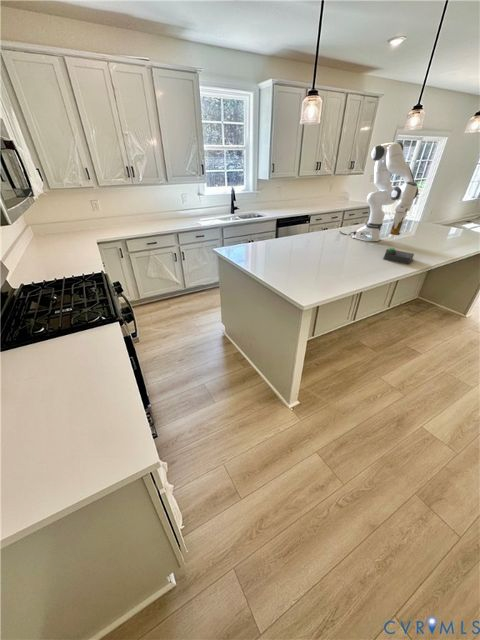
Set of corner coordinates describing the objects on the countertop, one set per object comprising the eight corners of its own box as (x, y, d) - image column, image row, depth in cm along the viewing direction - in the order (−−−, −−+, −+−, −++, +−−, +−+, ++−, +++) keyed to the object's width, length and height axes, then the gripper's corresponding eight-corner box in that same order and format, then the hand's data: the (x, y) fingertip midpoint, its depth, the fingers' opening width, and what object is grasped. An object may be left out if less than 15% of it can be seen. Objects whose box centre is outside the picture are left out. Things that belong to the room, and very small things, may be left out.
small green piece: (387, 251, 184) (388, 248, 183) (389, 249, 186) (389, 247, 185) (393, 252, 182) (393, 249, 181) (394, 251, 184) (395, 248, 183)
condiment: (387, 233, 194) (393, 217, 187) (390, 231, 199) (396, 215, 192) (398, 235, 190) (404, 219, 183) (401, 233, 195) (407, 216, 189)
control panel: (382, 258, 187) (385, 250, 184) (387, 254, 195) (390, 246, 192) (408, 264, 178) (411, 256, 174) (412, 259, 186) (415, 251, 183)
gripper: (402, 205, 192) (395, 224, 200) (394, 209, 179) (388, 229, 187) (411, 206, 188) (404, 225, 196) (404, 210, 176) (397, 231, 183)
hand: (396, 227), depth 191 cm, fingers closed on condiment, 6 cm apart
